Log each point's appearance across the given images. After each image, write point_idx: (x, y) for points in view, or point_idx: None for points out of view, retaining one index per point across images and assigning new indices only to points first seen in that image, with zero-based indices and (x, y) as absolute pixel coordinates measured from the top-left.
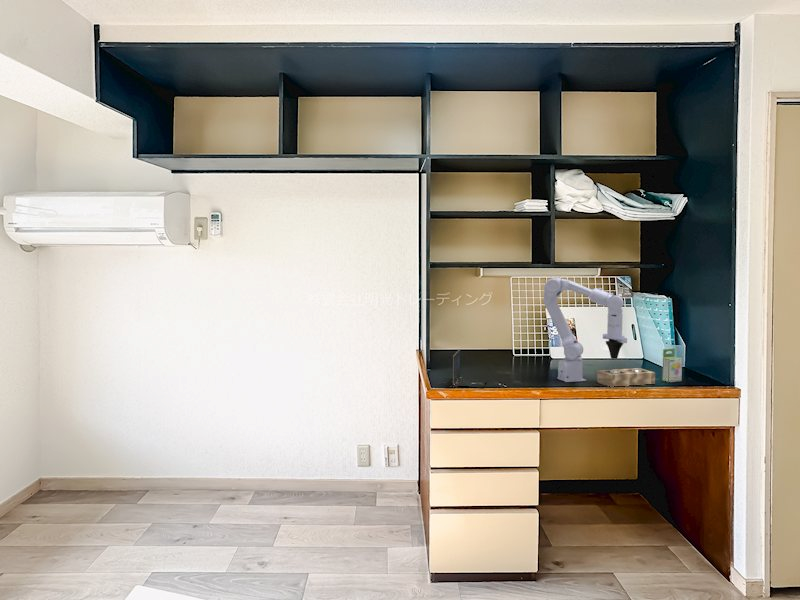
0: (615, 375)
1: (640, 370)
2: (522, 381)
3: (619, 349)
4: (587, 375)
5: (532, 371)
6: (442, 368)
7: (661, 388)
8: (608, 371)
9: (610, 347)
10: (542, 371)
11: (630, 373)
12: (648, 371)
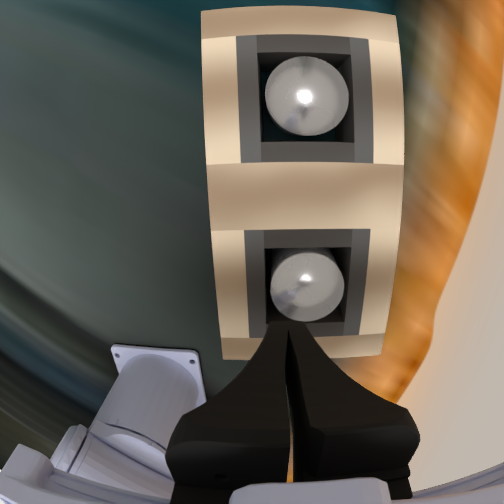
0: (383, 327)
1: (328, 76)
2: None
3: (344, 378)
4: (60, 267)
5: (23, 396)
6: None
7: (458, 81)
8: (265, 311)
9: (293, 465)
10: (15, 373)
11: (391, 214)
12: (353, 31)
